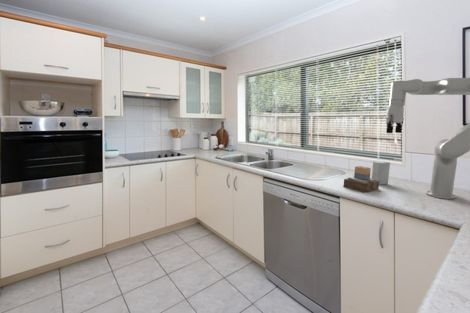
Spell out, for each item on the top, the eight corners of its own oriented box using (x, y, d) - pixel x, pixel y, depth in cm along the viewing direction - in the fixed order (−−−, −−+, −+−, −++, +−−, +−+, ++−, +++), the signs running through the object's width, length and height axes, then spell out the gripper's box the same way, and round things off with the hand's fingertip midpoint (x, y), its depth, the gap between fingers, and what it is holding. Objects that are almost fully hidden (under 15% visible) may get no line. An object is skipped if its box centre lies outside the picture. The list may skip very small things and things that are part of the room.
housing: (358, 176, 155) (359, 166, 154) (369, 179, 149) (370, 168, 148) (354, 177, 153) (354, 166, 152) (364, 180, 147) (365, 168, 146)
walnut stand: (356, 183, 162) (357, 175, 161) (378, 189, 150) (379, 179, 149) (343, 186, 154) (344, 177, 154) (365, 192, 143) (365, 182, 142)
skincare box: (381, 182, 167) (383, 160, 164) (388, 184, 161) (390, 162, 159) (370, 182, 165) (372, 161, 163) (377, 185, 159) (379, 162, 157)
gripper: (397, 104, 150) (394, 132, 152) (382, 102, 141) (379, 132, 143) (411, 103, 143) (408, 132, 146) (396, 102, 134) (392, 133, 137)
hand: (393, 132), depth 145 cm, fingers open, 9 cm apart
